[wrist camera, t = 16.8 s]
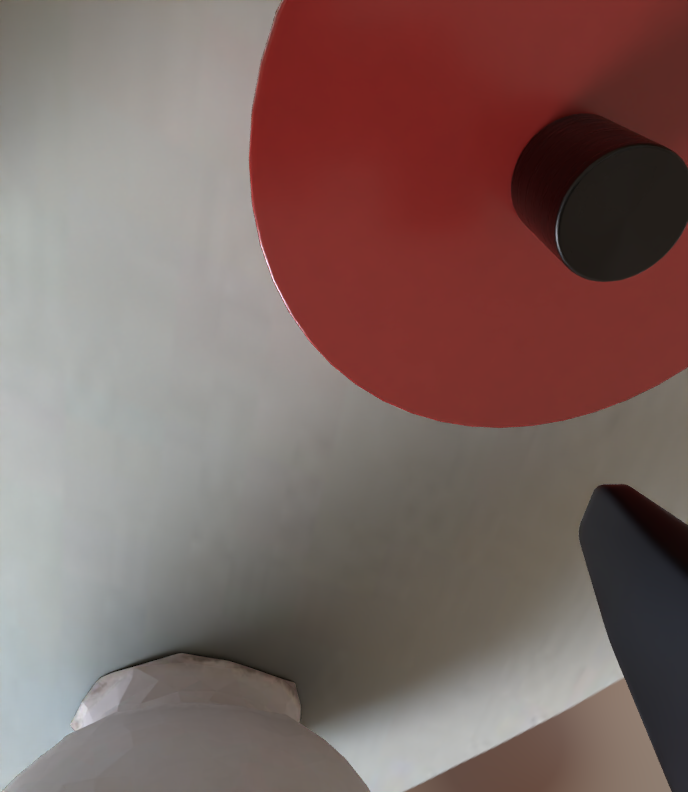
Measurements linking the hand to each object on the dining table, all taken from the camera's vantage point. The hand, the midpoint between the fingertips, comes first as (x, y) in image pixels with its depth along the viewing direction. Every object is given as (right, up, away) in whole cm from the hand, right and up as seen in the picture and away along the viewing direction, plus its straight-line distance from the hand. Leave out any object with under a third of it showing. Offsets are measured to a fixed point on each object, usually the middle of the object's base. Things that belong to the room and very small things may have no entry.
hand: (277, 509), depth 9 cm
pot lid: (+5, +6, +5) cm, 9 cm away
